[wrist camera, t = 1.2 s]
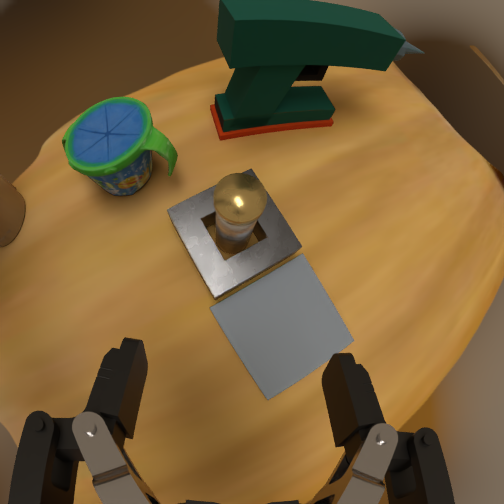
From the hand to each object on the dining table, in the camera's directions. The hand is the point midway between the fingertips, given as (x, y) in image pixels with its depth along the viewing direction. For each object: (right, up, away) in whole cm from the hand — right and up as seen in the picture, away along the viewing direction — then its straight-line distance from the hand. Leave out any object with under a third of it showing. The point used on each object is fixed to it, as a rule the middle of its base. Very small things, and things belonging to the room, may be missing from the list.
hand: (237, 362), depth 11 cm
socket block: (-2, +6, +23) cm, 24 cm away
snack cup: (-16, +15, +24) cm, 33 cm away
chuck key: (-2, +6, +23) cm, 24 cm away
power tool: (+10, +28, +30) cm, 42 cm away
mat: (+5, -4, +21) cm, 22 cm away
